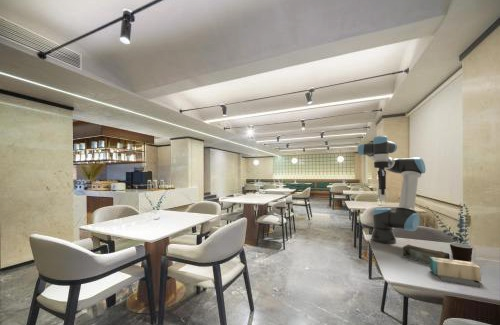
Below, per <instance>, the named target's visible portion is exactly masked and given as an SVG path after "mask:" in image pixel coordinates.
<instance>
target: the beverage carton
mask: <svg viewBox="0 0 500 325" xmlns="http://www.w3.org/2000/svg"><path fill="white" fill-rule="evenodd" d="M402 256H403V258H406V257H407V259H411V260H415V261H419V262H421V263H426V264H429V265H430V257H435V258H443V259H451V257H450V253H449V252H444V251H442V250H440V251H439V250H433V249H430V248H425V247H421V246H416V245H415V246H414V245H410V244H407V245H404V246H403V247H402Z"/></svg>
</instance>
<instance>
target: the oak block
mask: <svg viewBox="0 0 500 325" xmlns="http://www.w3.org/2000/svg"><path fill="white" fill-rule="evenodd" d="M429 266H430V267H429V270H430V271H431V272H432V273H433V274H434V275H435V276H438V275H443V276H449V277H456V278H463V279H469V280H473V281H477V282H482V274H481V273H482V271H481V267H480V266H479V265H477V264H476V263H475V262H473V261H471V262H467V261H459V260H453V259H451V258H450V259H443V258H435V257H430V264H429Z"/></svg>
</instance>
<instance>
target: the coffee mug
mask: <svg viewBox="0 0 500 325" xmlns="http://www.w3.org/2000/svg"><path fill="white" fill-rule="evenodd" d="M449 247H450V251H451V255H452V256H451V258H452V260H459V261H467V262H472V256H473V249H474V248H473V246H472V245H469V244H465V243H461V242H449Z"/></svg>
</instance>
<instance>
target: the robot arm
mask: <svg viewBox="0 0 500 325" xmlns="http://www.w3.org/2000/svg"><path fill="white" fill-rule="evenodd" d="M372 140H373V142H370V143H363V144H359V145H358V147H357V153H358V154H359V155H360V156H365V155H366V156H367V157H368V158H370V159H372V160H373V161H374V163H373V165H374V166H373V167H374V168H375V169H378V170H377V180H378V190H379V200H380V201H386V198H387V197H386V189H387V187H386V186H387V182H386V180H387V179H386V177H387V171H388V172H391V173H395V174H400V175H401V176H403V177H402V183H401V189H400V190H401V191H400V195H399V204H398V206H397V207H396V208H395V210H392V208H390V207H382V208H375V209H373V212H372V217H373V221H372V222H373V229H372V232H371V240H372V241H374V242H375V243H376V242H377V243H381V244H390V245H392V244H395V243H396V244H397V239H396V236H395V233H394V231H393V229H397V230H403V231H410V232H414V231H417V229H418V228H419V226H420V221H421V220H420V218H421V217H420V215H419V214H418V212H417V210H416V209H415V205H416V198H417V191H418V181H419V178H421V177H422V174H425V173H426V164H425V161H424V159H423V158H422V157H418V156H417V157H415V156H414V157H404V158H403V157H401V158H392V157H391V156H389V154H393V153H395V152H396V151H397V149H398V145H397V143H395V142H393V141H389V140H388V136H387V135H378V136H377V135H376V136H375V137H373V139H372Z"/></svg>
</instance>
